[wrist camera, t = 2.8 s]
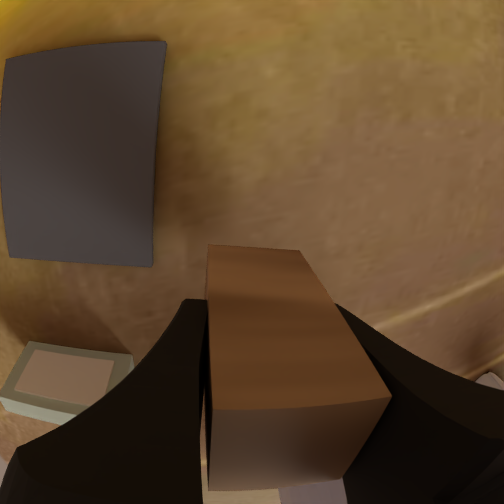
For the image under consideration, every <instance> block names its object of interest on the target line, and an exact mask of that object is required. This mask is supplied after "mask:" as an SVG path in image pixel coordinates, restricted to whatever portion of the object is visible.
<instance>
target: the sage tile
mask: <svg viewBox="0 0 504 504" xmlns="http://www.w3.org/2000/svg"><path fill="white" fill-rule="evenodd" d="M133 369H134V362H133V355H132V354H121V353H112V352H103V351H94V350H86V349H79V348H71V347H65V346H58V345H52V344H46V343H40V342H34V341H29V342H28V344H27V345H26V347H25V348H24V350H23V352H22V353H21V355H20V357H19V359H18V360H17V362H16V364H15V366H14V367H13V369H12V371H11V373H10V374H9V376H8V378H7V380H6V382H5V384H4V385H3V387H2V389H1V391H0V401H1V402H2V404H3V406H4V408H5V410H6V411H9V412H13V413H16V414H20V415H23V416H27V417H31V418H34V419H38V420H42V421H47V422H51V423H55V424H60V425H63V424H64V423H66V422H68V421H69V420H71V419H72V418H74V417H75V416H77V415H78V414H80V413H81V412H83V411H84V410H85V409H87V408H88V407H90V406H91V405H93V404H94V403H95V402H97V401H98V400H99V399H101V398H102V397H103V396H104V395H106V394H107V393H108V392H109V391H110V390H111V389H113V388H114V387H115V386H116V385H117V384H118V383H120V382H121V381H122V380H123V379H124V378H125V377H126V376H127V375H128V374H129V373H130V372H131V371H132V370H133Z"/></svg>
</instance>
